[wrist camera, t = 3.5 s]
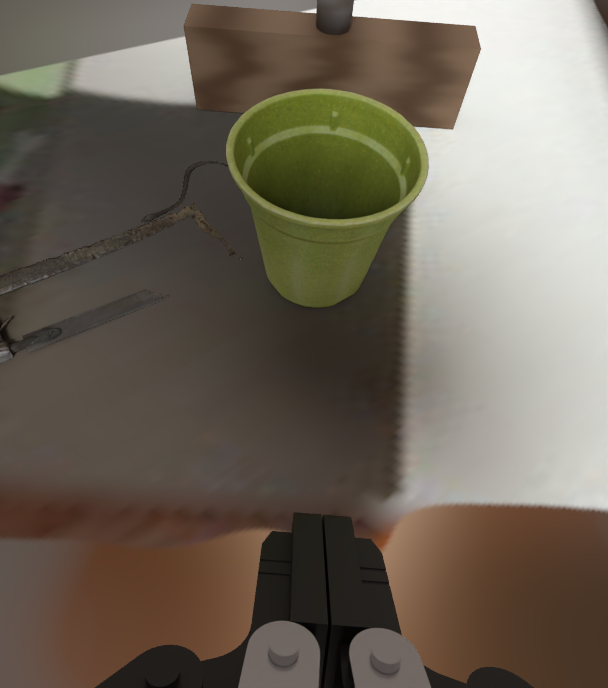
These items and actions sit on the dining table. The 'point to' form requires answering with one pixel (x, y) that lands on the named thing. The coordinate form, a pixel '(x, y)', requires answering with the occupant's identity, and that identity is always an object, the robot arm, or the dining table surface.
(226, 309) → the dining table surface
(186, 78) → the dining table surface
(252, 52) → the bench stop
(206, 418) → the dining table surface
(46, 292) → the dining table surface
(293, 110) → the plant pot
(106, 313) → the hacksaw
